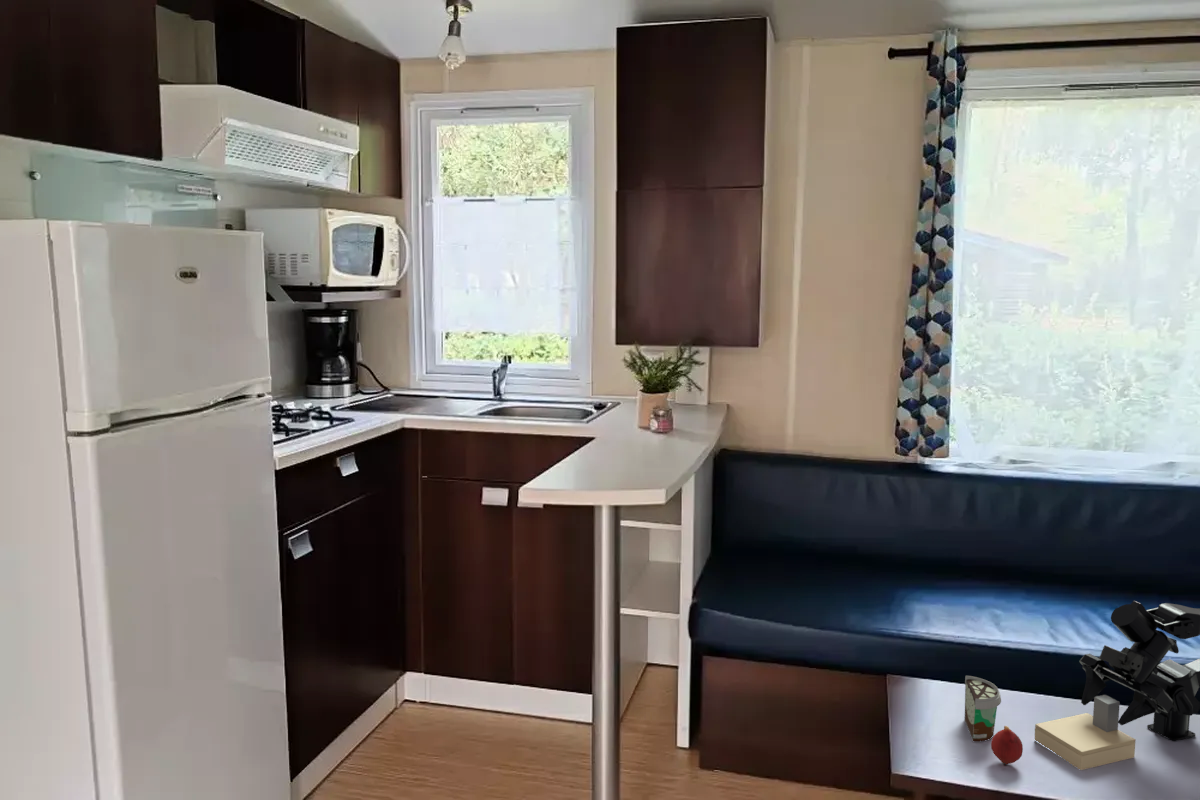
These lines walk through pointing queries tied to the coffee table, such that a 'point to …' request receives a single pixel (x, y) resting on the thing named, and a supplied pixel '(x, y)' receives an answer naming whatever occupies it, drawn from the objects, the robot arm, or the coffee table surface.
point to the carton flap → (1089, 728)
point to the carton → (1088, 759)
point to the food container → (980, 707)
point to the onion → (1007, 746)
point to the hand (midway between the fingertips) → (1100, 713)
